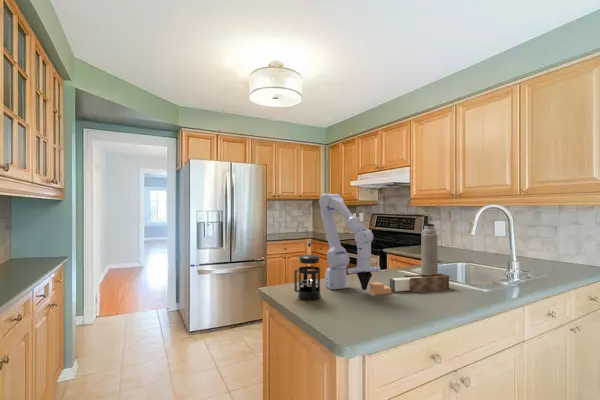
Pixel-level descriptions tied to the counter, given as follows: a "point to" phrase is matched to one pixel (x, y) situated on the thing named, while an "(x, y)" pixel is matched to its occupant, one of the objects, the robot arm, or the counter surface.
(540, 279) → the counter surface
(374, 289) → the peach two-level step
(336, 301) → the counter surface
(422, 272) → the thermos bottle
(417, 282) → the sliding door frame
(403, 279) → the sliding door
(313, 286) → the french press
